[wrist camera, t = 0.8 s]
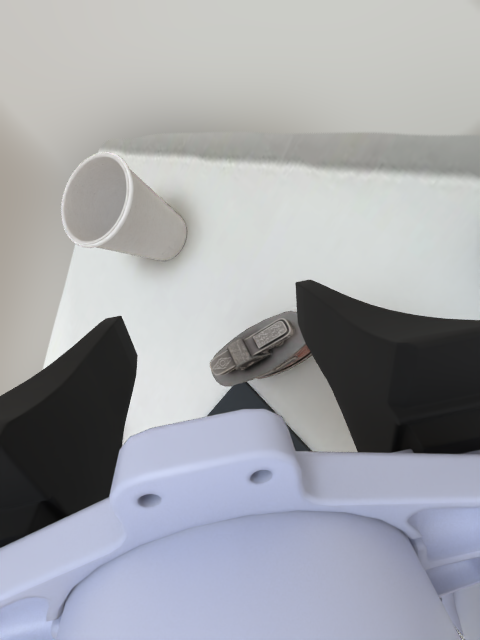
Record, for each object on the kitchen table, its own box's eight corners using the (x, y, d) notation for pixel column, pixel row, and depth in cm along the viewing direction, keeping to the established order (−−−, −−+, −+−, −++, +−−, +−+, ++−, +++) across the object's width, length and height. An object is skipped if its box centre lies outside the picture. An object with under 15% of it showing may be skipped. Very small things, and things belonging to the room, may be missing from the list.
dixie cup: (211, 231, 34) (147, 187, 24) (162, 287, 36) (86, 266, 27) (169, 186, 36) (98, 132, 27) (126, 240, 38) (47, 207, 29)
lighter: (258, 385, 30) (204, 401, 21) (243, 354, 31) (184, 356, 22) (335, 344, 27) (311, 342, 18) (315, 311, 28) (283, 293, 19)
